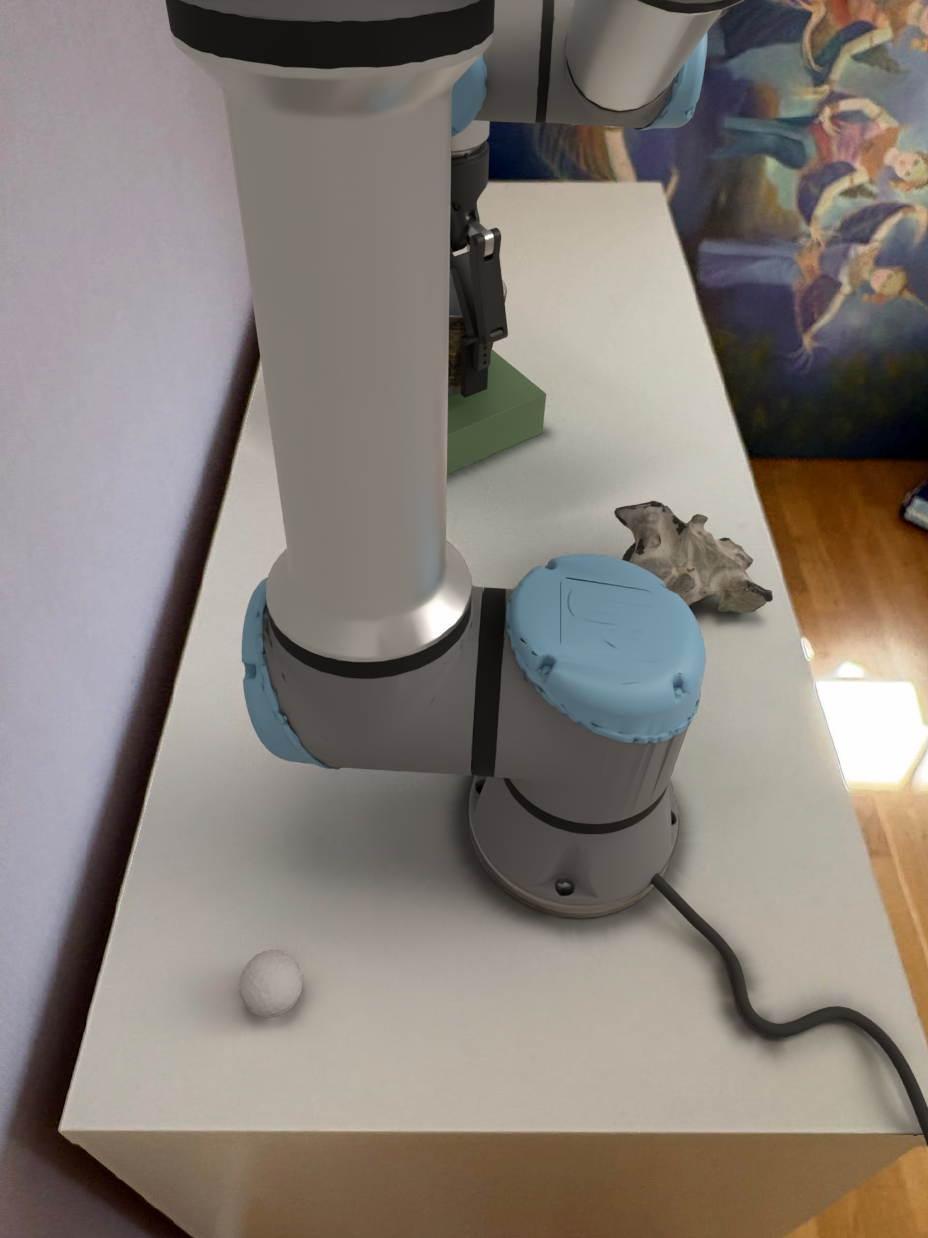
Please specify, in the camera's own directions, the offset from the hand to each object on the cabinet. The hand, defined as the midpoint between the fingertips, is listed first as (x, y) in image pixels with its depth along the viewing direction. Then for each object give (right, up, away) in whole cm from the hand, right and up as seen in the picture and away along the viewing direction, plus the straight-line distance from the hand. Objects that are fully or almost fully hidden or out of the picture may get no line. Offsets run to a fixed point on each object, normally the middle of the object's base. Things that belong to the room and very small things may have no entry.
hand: (444, 365), depth 97 cm
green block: (0, -5, +5) cm, 7 cm away
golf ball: (-10, -50, -35) cm, 62 cm away
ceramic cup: (0, -2, +1) cm, 2 cm away
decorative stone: (+23, -18, -17) cm, 34 cm away
